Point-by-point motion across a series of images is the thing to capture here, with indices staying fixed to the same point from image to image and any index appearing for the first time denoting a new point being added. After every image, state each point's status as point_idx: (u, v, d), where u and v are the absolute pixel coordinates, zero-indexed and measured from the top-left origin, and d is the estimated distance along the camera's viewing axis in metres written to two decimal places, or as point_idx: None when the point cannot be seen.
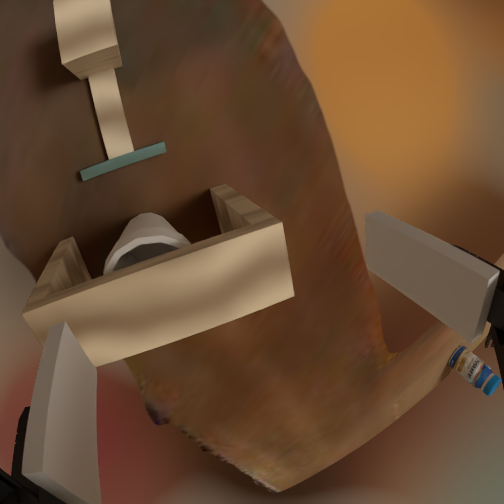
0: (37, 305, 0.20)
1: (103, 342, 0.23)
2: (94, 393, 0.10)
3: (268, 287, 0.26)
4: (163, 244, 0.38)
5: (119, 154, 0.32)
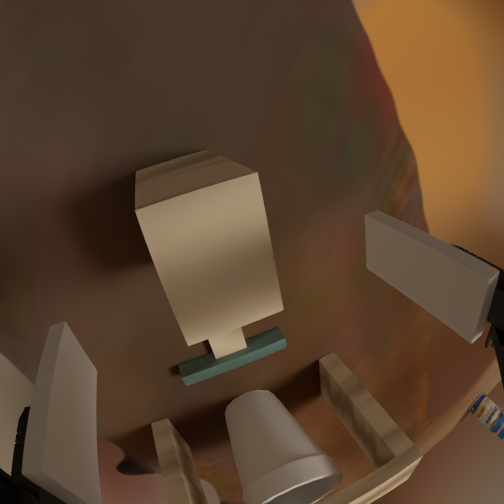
0: None
1: None
2: (94, 393, 0.10)
3: (394, 485, 0.22)
4: None
5: (229, 352, 0.27)
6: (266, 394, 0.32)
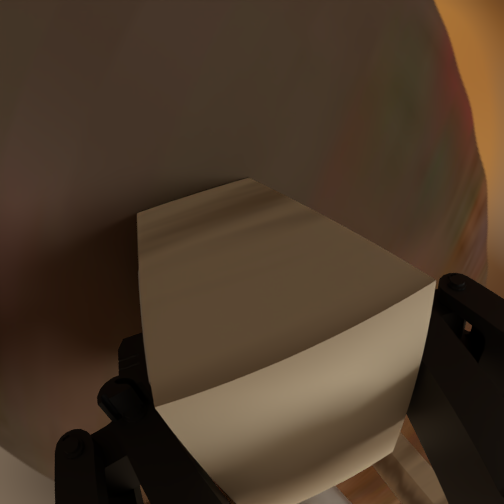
0: None
1: None
2: None
3: None
4: None
5: None
6: None
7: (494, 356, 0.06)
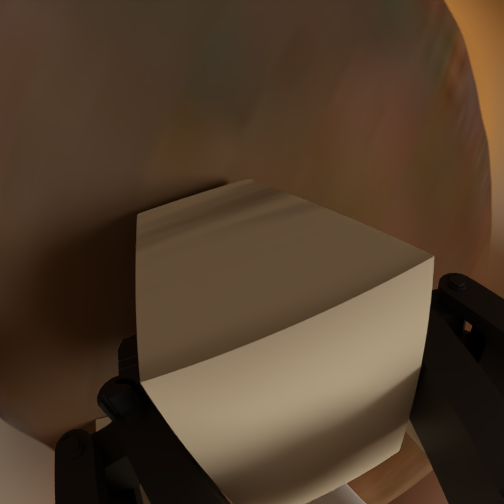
0: None
1: None
2: None
3: None
4: None
5: None
6: None
7: (494, 356, 0.06)
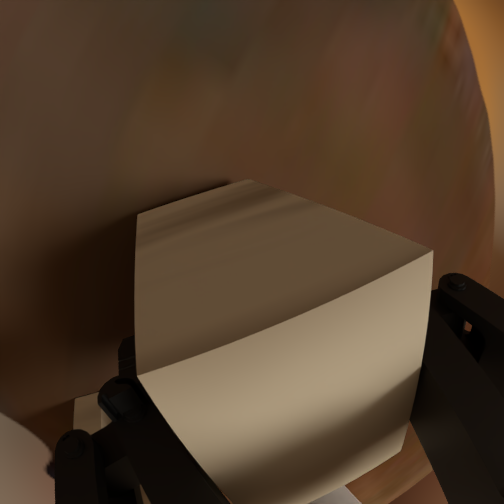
0: None
1: None
2: None
3: None
4: None
5: None
6: None
7: (494, 356, 0.06)
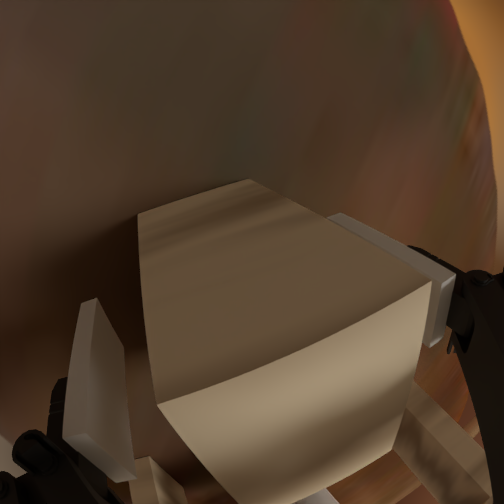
0: None
1: None
2: (122, 368, 0.11)
3: None
4: None
5: None
6: None
7: None
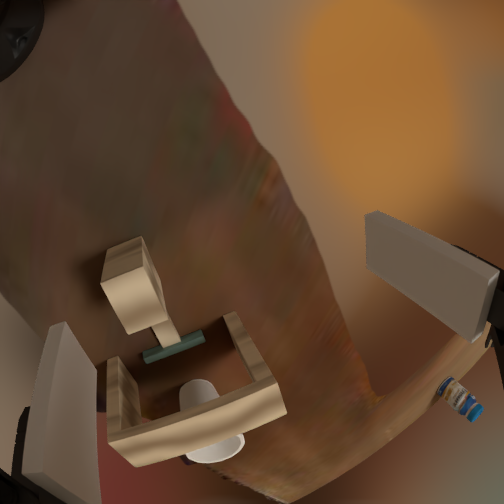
0: (118, 436, 0.30)
1: (164, 450, 0.33)
2: (94, 393, 0.10)
3: (269, 413, 0.36)
4: None
5: (170, 344, 0.46)
6: (205, 382, 0.51)
7: None
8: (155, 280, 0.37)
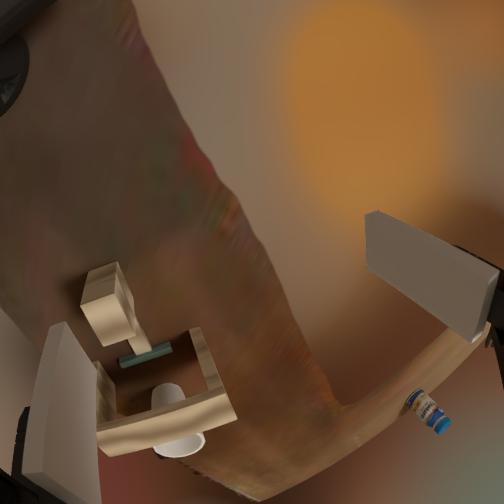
0: None
1: (132, 443, 0.38)
2: (94, 393, 0.10)
3: (221, 418, 0.42)
4: None
5: (142, 352, 0.51)
6: (174, 386, 0.56)
7: None
8: (127, 301, 0.42)
